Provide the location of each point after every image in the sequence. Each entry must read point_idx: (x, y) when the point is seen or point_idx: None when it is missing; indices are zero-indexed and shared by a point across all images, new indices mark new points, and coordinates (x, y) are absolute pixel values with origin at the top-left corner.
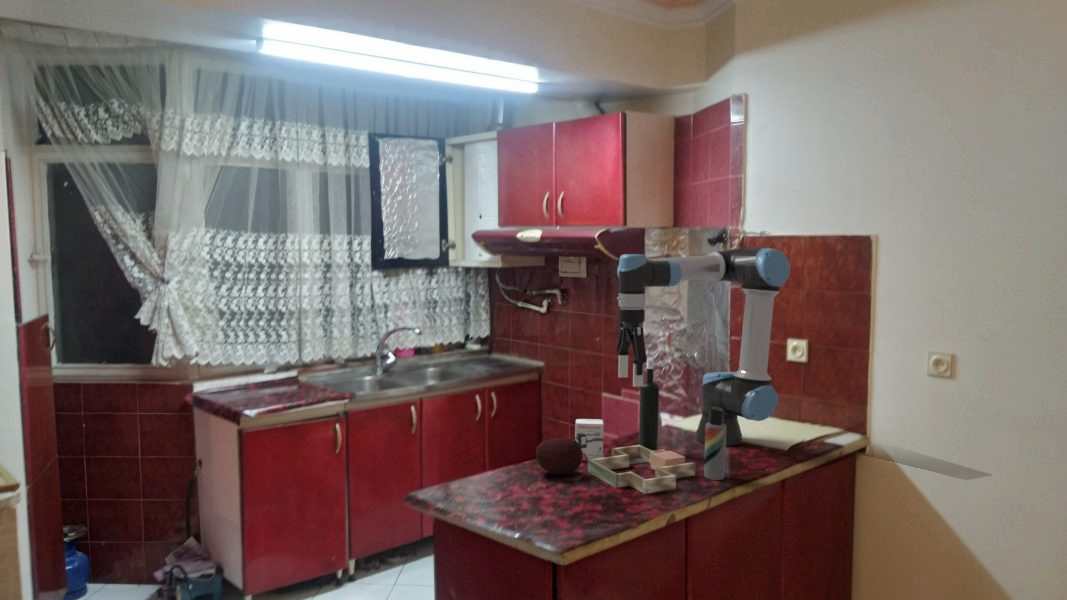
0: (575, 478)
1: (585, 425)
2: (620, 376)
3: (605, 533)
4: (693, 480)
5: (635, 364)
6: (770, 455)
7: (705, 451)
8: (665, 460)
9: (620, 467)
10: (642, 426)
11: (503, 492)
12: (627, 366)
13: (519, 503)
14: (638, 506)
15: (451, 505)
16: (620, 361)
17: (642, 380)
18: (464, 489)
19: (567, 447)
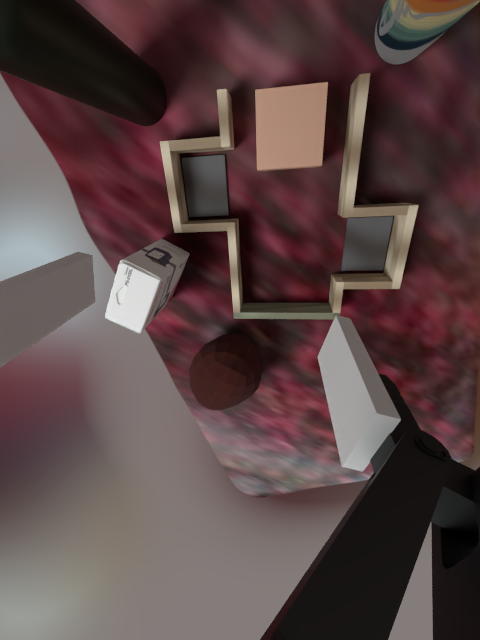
0: (261, 341)
1: (149, 315)
2: (91, 297)
3: (474, 407)
4: (388, 118)
5: (364, 457)
6: None
7: (424, 31)
8: (321, 164)
9: (239, 241)
10: (115, 108)
11: (274, 436)
12: (45, 280)
13: (319, 437)
14: (429, 321)
15: (289, 483)
16: (23, 343)
17: (357, 339)
18: (246, 460)
19: (249, 385)
